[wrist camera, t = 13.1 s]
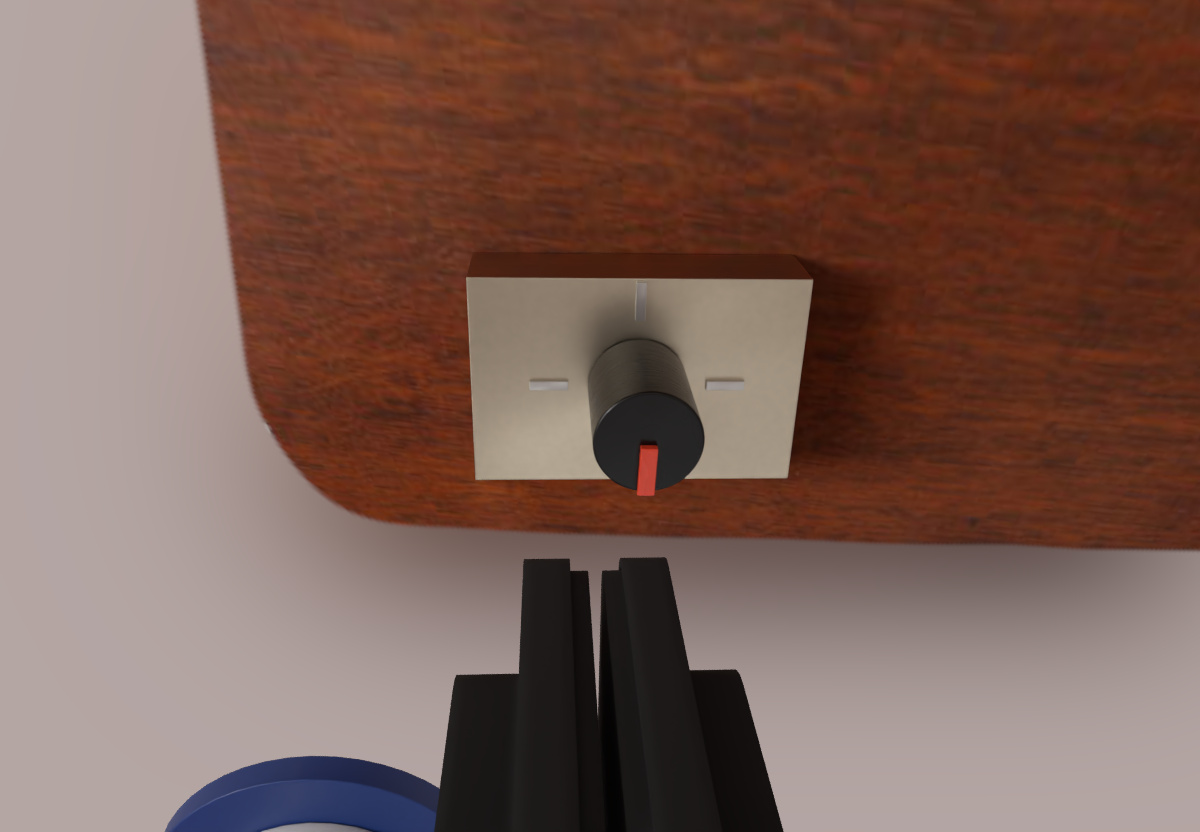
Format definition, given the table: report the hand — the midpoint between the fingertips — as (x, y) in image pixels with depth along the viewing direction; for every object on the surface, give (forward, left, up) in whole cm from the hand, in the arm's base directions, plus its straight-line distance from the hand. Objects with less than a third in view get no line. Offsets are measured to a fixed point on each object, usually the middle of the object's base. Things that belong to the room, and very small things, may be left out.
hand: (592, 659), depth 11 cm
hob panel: (-3, -6, -25) cm, 26 cm away
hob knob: (-3, -6, -22) cm, 23 cm away
